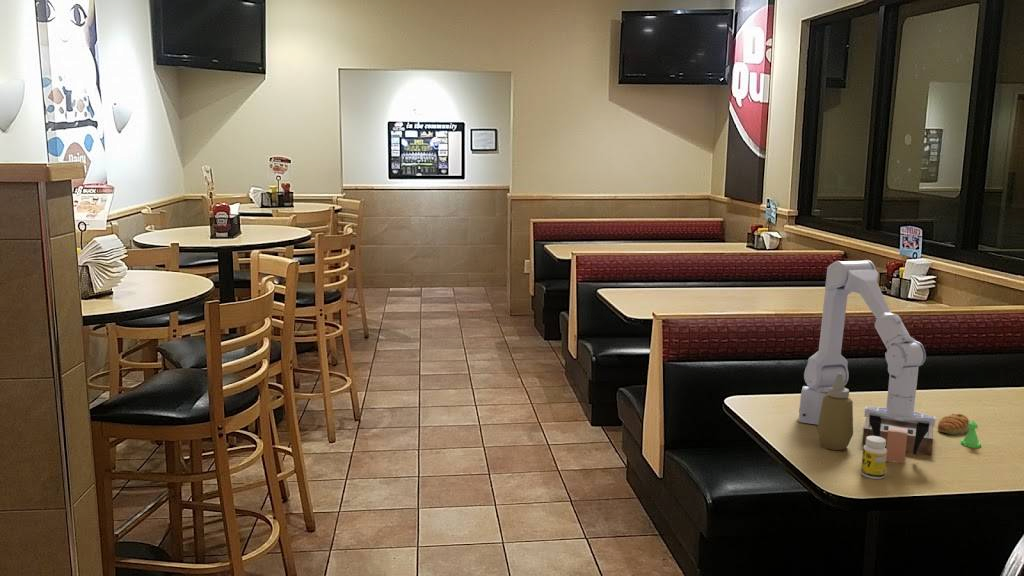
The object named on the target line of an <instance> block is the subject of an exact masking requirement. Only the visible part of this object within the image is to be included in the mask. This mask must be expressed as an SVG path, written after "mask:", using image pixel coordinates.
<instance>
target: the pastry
mask: <svg viewBox="0 0 1024 576" xmlns="http://www.w3.org/2000/svg"><path fill="white" fill-rule="evenodd" d="M969 422H971V421H970V420H969V417H967V416H966V415H965V414H961V413H956V414H955V413H951V414H949V415H946V416H943V417H942V418H941V419H940V420H939V421H938V425H937V431H938V432H940V433H945V434H948V435H963V434H965V433H968V432H969V430H970V428H968V423H969Z"/></svg>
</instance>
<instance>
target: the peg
mask: <svg viewBox="0 0 1024 576" xmlns="http://www.w3.org/2000/svg"><path fill="white" fill-rule="evenodd" d="M907 434H908V429H906V428H900V427H893V426H889V429H888V437H887V447H886V449H887V456H886V461H888V460H890V461H889V462H893V461H895V462H894V463H899V462H901V463H900V464H905V460H906V452H907V451H906V443H907Z"/></svg>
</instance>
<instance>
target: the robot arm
mask: <svg viewBox="0 0 1024 576" xmlns="http://www.w3.org/2000/svg"><path fill="white" fill-rule="evenodd" d="M825 277H826V279H825V286H824V298H823V299H824V300H823V308H822V316H821V326H820V335H819V344H818V350H817V351H816V352H815V353H814V354H813V355H811V356H810V357H809V358H808V359H807V363H806V367H805V370H804V372H803V378H804V379H803V380H804V382H805V384H806V385H803V386H802V389H801V392H800V398H799V399H800V402H799V408H798V414H799V415H798V422H799V423H802V424H810V425H816V426H818V422H819V417H820V412H821V407H822V402H823V398H824V397H825V396H826V395H828V388H829V387H831V386H834V382H835V379H836V376H837V374H838V373H840V374H843V380H844V387H845V386H846V385H847V384H848V382H849V377H850V376H849V374H850V373H849V369H848V363H849V361H848V360H847V359H846V358H845V357H844V356H843V355H842V346H843V339H844V329H845V321H846V311H847V303H848V296H849V295H850V294H852V293H857V294H859V295H860V297H861V298H862V299H863V301H864V303H865V304H866V305H867V306H868V308H869V309H870V311H871V313H872V315H874V317H875V322H874V328H875V330H876V332H877V334H878V335H879V337H880V339H881V341H882V343H883V344H884V346H885V348H886V352H885V353H884V356H885V357H884V358H885V361H886V363H887V372H888V374H889V377H888V378H889V379H888V386H887V387H888V388H887V396H886V397H887V398H886V406H885V407H878V406H877V407H875V406H865V408H864V417H865V418H866V417H870V418H869V422H870V425H871V428H872V430H873V433H874V436H878V437H880V429H881V419H882V418H884V419H891V420H898V421H904V422H911V423H917V426H916V436H915V442H914V447H913V452H912V456H917V454H918V453H917V450H918V447H919V445H920V443H921V441H922V439H923V438H924V436H925V435H926V433H927V432H928V430H929V426H932V427H933V428H934V427H935V426H936V425H935V423H936V415H929V414H925V413H920V412H916V411H915V404H916V393H917V385H918V376H919V367H921V366H923V365H924V364H925V362H926V359H927V353H926V349H925V347H924V345H923V344H922V343H921V342H920V341H917V340H916V339H915V337H911V335H910V333H909V331H908V330H907V328H906V326H905V324H904V323H903V320H902V318H901V317H900V316H899V315H898V314H896V313H893V312H891V309H890V307H889V306H888V303H887V301H886V299H885V297H884V295H883V293H882V290H881V288H880V285H879V284H878V281H879V272H878V271H877V269H876V265H875V264H874V262H873V261H871V260H869V259H864V260H849V261H848V260H846V261H840V260H836V261H833V262H832V263H831V264H829V265H828V266H827V270H826V276H825Z"/></svg>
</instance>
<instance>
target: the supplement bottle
mask: <svg viewBox="0 0 1024 576" xmlns="http://www.w3.org/2000/svg"><path fill="white" fill-rule="evenodd" d="M885 447H886V440H885V439H884V438H882V437H878V436H867V437H866V444H864V446H863V448H862V458H861V468H860V469H861V470H860V473H861V475H863V476H864V477H866V478H868V479H872V480H881V479H884V478H885V473H886V467H887V466H886V463H887V460H886V456H887V449H886V448H885Z"/></svg>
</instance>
